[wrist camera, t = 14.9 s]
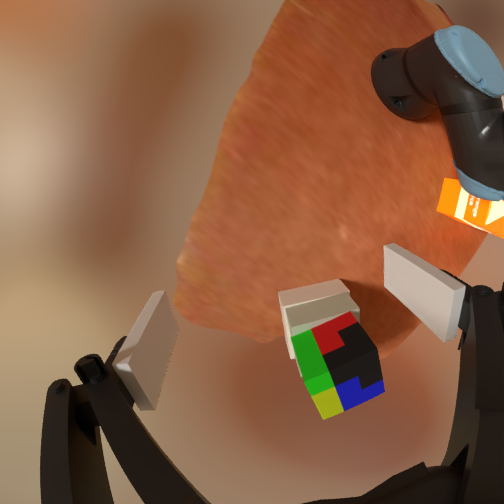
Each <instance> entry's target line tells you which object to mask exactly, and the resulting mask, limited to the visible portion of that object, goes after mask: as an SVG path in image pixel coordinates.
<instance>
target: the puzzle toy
mask: <svg viewBox="0 0 504 504" xmlns="http://www.w3.org/2000/svg"><path fill="white" fill-rule="evenodd" d="M290 338H291V341H292V344H293V348H294V351H295V354H296V357H297V361H298V364H299V367H300V371H301V374H302V377H303V381H304V383H305V385H306V387H307V389H308V391H309V393H310V395H311V397H312V399H313V401H314V403H315V405H316V407H317V409H318V411H319V413H320V415H321V416H322V419H323V420H324V419H326V418H329V417H331V416H334V415H336V414H339V413H341V412H343V411H346V410H348V409H350V408H353V407H355V406H357V405H359V404H361V403H363V402H365V401H368V400H370V399H372V398H374V397H375V396H378V395H379V394H381V393H383V392H385V390H384V384H383V377H382V372H381V366H380V360H379V355H378V350H377V347H376V346H375V344H374V343H373V342H372V340H371V339H370V337H369V336H368V335H367V333H366V332H365V331H364V329H363V328H362V326H361V325H360V324H359V322H358V321H357V320H356V318H355V317H354V315H353V314H352V313H351V311H349V312H347V313H344V314H342V315H340V316H338V317H336V318H334V319H332V320H329V321H327V322H325V323H323V324H321V325H318V326H316V327H314V328H311V329H309V330H307V331H305V332H302V333H300V334H297V335H295V336H292V337H290Z"/></svg>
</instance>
